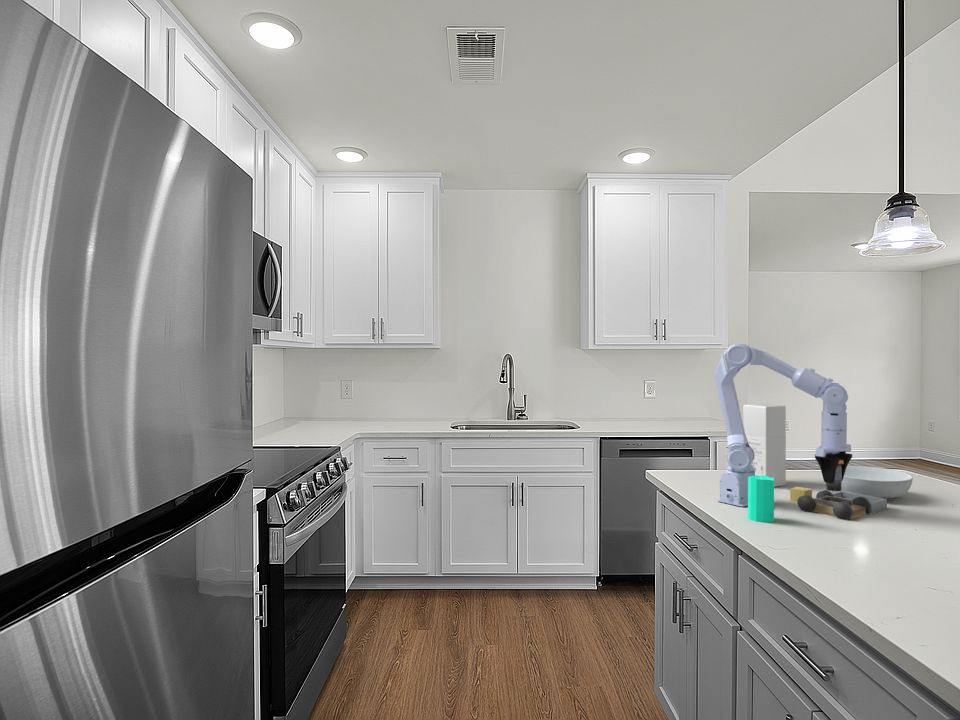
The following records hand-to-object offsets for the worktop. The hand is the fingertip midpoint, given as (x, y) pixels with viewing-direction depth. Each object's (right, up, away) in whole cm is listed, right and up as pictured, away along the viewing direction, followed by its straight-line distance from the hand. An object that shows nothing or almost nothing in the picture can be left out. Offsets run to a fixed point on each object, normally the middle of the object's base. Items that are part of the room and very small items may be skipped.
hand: (833, 481), depth 158 cm
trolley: (0, -8, 0) cm, 8 cm away
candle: (-22, -8, -7) cm, 24 cm away
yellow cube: (-2, -8, +12) cm, 14 cm away
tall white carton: (-2, -8, +34) cm, 35 cm away
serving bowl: (+21, -8, +18) cm, 28 cm away
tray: (+9, -8, +6) cm, 13 cm away
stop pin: (0, -2, 0) cm, 2 cm away
